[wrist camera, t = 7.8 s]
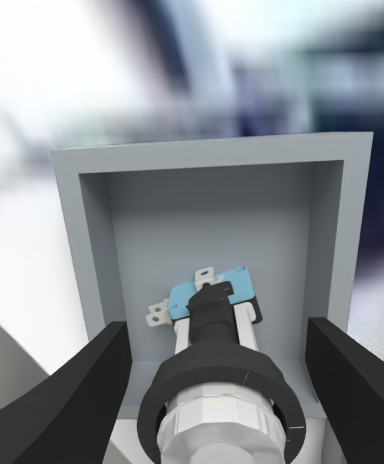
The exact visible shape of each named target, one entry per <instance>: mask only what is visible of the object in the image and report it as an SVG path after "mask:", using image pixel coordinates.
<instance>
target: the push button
mask: <svg viewBox="0 0 384 464" xmlns="http://www.w3.org/2000/svg"><path fill="white" fill-rule="evenodd" d="M203 272H208V273H207V274H205V275H201V274H202V273H203ZM157 307H158V308H160V309H161V311H159V312H156V311H155V308H157ZM148 309H149V311H150V313H151V314H149V315H146V320H147V322H148V324H149V326H151V327H153V326H156V325H160V324H164V323H168V325H169V324H172V323H173V325H174V330H175V332H176V335H177V342H176V350H175V355H174V356H172V357H170V358H169V359H167V360H165V361H164V362H162V363H161V365H160V367H159V369H158V371H157V373H156V375H155V377H154V379H153V381H152V384H151V386H150V387H149V389H148V390H147V392H146V393H145V395H144V397H143V400H142V402H141V406H140V409H139V414H138V419H137V433H138V438H139V441H140V444H141V446H142V448H143V450H144V451H145V453H146V454H147V456H148V457H149V458H150V459H151V460H152V461H153V462H154V463H155V464H290V463H291V462H292V461H293V460H294V459H295V458H296V456H297V455H298V453H299V452H300V450H301V448H302V446H303V443H304V440H305V435H306V422H305V417H304V413H303V410H302V407H301V405H300V402H299V400H298V398H297V396H296V394H295V392H294V391H293V389H292V388H291V387H290V386H289V385H288V384H287V383H286V382H285V379H284V376H283V373H282V372H281V371H280V369H279V368H278V367H277V366H276V364H275V363H274V362H273V361H272V360H271V358H270V357H269V356H267V355H266V354H263V353H261V352H259V351H258V347H257V343H256V339H255V334H254V330H253V326H252V325H254V324H257V323H260V322H261V321H262V320H263V317H262V314H261V311H260V308H259V304H258V301H257V298H256V295H255V292H254V288H253V285H252V282H251V279H250V276H249V273H248V269H247V267H244V266H243V267H238V268H235V269H233V270H230V271H226V272H223V273H219V274H216V275H214V268H213V267H208V268H205V269H201V270H198V271H197V272H195V281H192V282H188V283H185V284H181V285H178V286H175V287H173V288H172V290H171V293H170V298H168V299H165V300H164V302H162V303H159V304H155V305H152V306H149V308H148ZM153 317H158V318H159V321H157V322H155V321H153V320H152V318H153ZM270 399H272V400H273V401H274V404H273V406H272V404H271V400H270ZM167 401H168V405H167V408H166V406H165V403H166V402H167Z"/></svg>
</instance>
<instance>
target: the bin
mask: <svg viewBox="0 0 384 464" xmlns="http://www.w3.org/2000/svg"><path fill="white" fill-rule="evenodd" d="M372 139H373V132H321V133H303V134H286V135H268V136H251V137H234V138H216V139H199V140H181V141H164V142H146V143H129V144H112V145H94V146H82V147H74V148H66V149H58V150H50V152H51V156H52V161H53V166H54V171H55V176H56V181H57V186H58V191H59V196H60V201H61V206H62V211H63V216H64V221H65V226H66V231H67V236H68V241H69V246H70V251H71V256H72V261H73V266H74V270H75V275H76V280H77V285H78V290H79V295H80V300H81V305H82V310H83V315H84V320H85V325H86V330H87V335H88V340H89V342H90V341H91V340H92V339H93V338H94V337H96V336H97V335H98V334H99V333H100V332H101V331H102V330H103V329H104V328H105V327H106V326H107V325H108V324H109V323H111V322H112V321H127V328H128V335H129V341H130V348H131V355H132V367H131V372H130V377H129V382H128V386H127V389H126V393H125V396H124V399H123V401H122V404H121V407H120V410H119V413H118V416H117V419H138V414H139V409H140V406H141V402H142V400H143V397H144V395H145V393H146V392H147V390H148V389H149V387H150V386H151V384H152V381H153V379H154V377H155V375H156V373H157V371H158V369H159V367H160V365H161V363H162V362H164V361H165V360H167V359H169V358H170V357H172V356H174V355H175V350H176V342H177V335H176V332H175V330H174V325H173V323H172V324H169V325H168V323H164V324H160V325H156V326H153V327H151V326H149V324H148V322H147V320H146V315H149V314H151V313H150V311H149V309H148V308H149V306H152V305H155V304H159V303H162V302H164V300H165V299H168V298H170V293H171V290H172V288H173V287H175V286H178V285H181V284H185V283H188V282H192V281H195V272H197V271H198V270H201V269H205V268H208V267H213V268H214V275H216V274H219V273H223V272H226V271H230V270H233V269H235V268H238V267H243V266H244V267H247V269H248V273H249V276H250V279H251V282H252V285H253V288H254V292H255V295H256V298H257V301H258V304H259V308H260V311H261V314H262V317H263V320H262V321H261V322H260V323H257V324H254V325H252V326H253V330H254V334H255V339H256V343H257V347H258V351H259V352H261V353H263V354H266V355H267V356H269V357H270V358H271V360H272V361H273V362H274V363H275V364H276V366H277V367H278V368H279V369H280V371H281V372H282V373H283V376H284V379H285V382H286V383H287V384H288V385H289V386H290V387H291V388H292V389H293V391H294V392H295V394H296V396H297V398H298V400H299V402H300V405H301V407H302V410H303V413H304V417H305V418H327V416H326V414H325V412H324V410H323V408H322V405H321V403H320V401H319V399H318V396H317V394H316V392H315V390H314V387H313V385H312V382H311V379H310V376H309V373H308V369H307V366H306V363H305V350H306V338H307V325H308V317H325V318H326V319H328V320H329V321H330V322H332V323H333V324H334V325H336V326H337V327H338V328H339V329H341V330H342V331H343V332H345V333H346V334H347V327H348V319H349V312H350V304H351V297H352V289H353V282H354V274H355V266H356V259H357V251H358V244H359V236H360V229H361V221H362V214H363V206H364V199H365V191H366V184H367V176H368V169H369V161H370V154H371V146H372ZM207 273H208V272H203V273H202V274H201V275H205V274H207ZM155 311H156V312H159V311H161V309H160V308H158V307H157V308H155ZM152 320H153V321H155V322H157V321H159V318H158V317H153V318H152ZM270 400H271V404H272V406H273V404H274V401H273V400H272V399H270ZM167 405H168V401H167V402H166V403H165V406H166V408H167Z"/></svg>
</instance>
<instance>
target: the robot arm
mask: <svg viewBox="0 0 384 464" xmlns="http://www.w3.org/2000/svg"><path fill="white" fill-rule="evenodd" d="M305 363H306V366H307V369H308V373H309V376H310V379H311V382H312V385H313V387H314V390H315V392H316V394H317V396H318V399H319V401H320V403H321V405H322V408H323V410H324V412H325V414H326V416H327V418H328V421H329V423H330V425H331V427H332V429H333V432H334V434H335V436H336V438H337V440H338V443H339V445H340V447H341V449H342V452H343V454H344V457H345V459H346V462H347V464H384V361H382V360H381V359H379V358H378V357H377V356H375V355H374V354H372V353H371V352H370V351H368V350H367V349H366V348H364V347H363V346H362V345H360V344H359V343H358V342H356V341H355V340H354V339H352V338H351V337H350V336H348V335H347V334H346V333H345V332H343V331H342V330H341V329H339V328H338V327H337V326H336V325H334V324H333V323H332V322H330V321H329V320H328V319H326V318H325V317H308V325H307V338H306V350H305ZM131 367H132V355H131V348H130V341H129V335H128V328H127V321H112V322H111V323H109V324H108V325H107V326H106V327H105V328H104V329H103V330H102V331H101V332H100V333H99V334H98V335H97V336H96V337H94V338H93V339H92V340H91V341H90V342H89V343H88V344H87V345H86V346H85V347H84V348H83V349H82V350H80V351H79V352H78V353H77V354H76V355H75V356H74V357H72V358H71V359H70V360H69V361H68V362H66V363H65V364H64V365H63V366H62V367H61V368H59V369H58V370H57V371H56V372H55V373H53V374H52V375H51V376H49V377H48V378H47V379H45V380H44V381H43V382H41V383H40V384H39V385H37V386H36V387H34V388H33V389H32V390H30V391H29V392H27V393H26V394H24V395H23V396H21V397H20V398H18V399H17V400H15V401H13V402H12V403H10V404H9V405H7V406H5V407H4V408H2V409H1V410H0V464H102V462H103V458H104V455H105V452H106V449H107V445H108V442H109V439H110V437H111V434H112V431H113V428H114V425H115V422H116V419H117V416H118V413H119V410H120V407H121V404H122V401H123V399H124V396H125V393H126V389H127V386H128V382H129V377H130V372H131Z"/></svg>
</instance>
